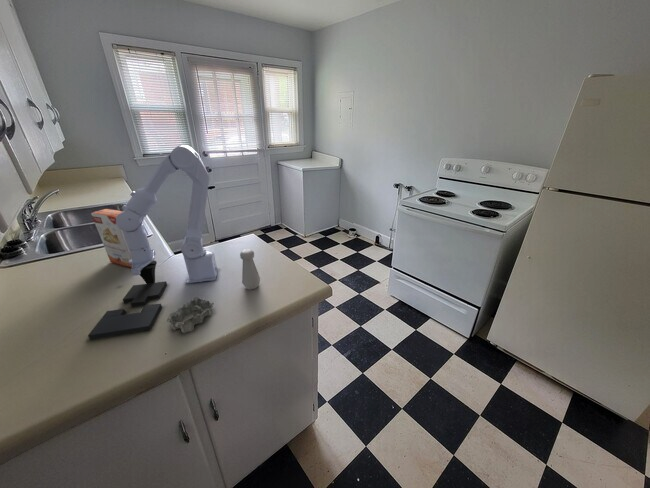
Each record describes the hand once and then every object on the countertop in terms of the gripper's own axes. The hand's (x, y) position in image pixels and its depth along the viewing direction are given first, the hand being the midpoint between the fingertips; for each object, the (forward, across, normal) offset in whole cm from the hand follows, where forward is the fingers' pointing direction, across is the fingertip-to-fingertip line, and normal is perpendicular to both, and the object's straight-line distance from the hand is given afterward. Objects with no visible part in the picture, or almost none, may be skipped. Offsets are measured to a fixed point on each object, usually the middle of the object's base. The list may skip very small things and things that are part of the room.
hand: (151, 283), depth 91 cm
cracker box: (+1, -21, -15) cm, 26 cm away
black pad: (+1, +6, 0) cm, 6 cm away
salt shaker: (+1, +9, +33) cm, 34 cm away
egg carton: (+1, +22, +17) cm, 28 cm away
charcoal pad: (+1, +19, 0) cm, 19 cm away
